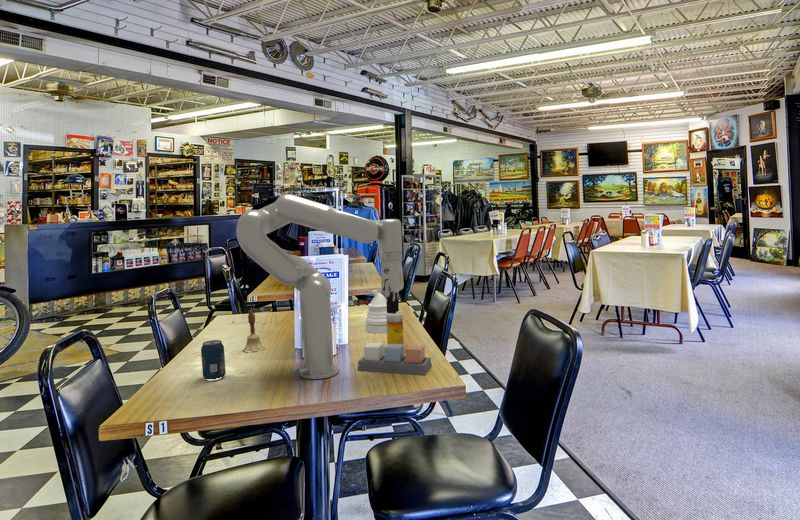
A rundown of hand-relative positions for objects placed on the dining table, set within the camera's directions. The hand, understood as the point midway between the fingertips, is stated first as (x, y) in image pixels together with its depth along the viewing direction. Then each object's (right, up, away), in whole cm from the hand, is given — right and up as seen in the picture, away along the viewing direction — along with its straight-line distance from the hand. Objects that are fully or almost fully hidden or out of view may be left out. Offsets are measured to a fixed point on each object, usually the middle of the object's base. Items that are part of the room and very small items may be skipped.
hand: (392, 311), depth 154 cm
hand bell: (-55, -19, +30) cm, 66 cm away
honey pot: (-6, -14, +55) cm, 57 cm away
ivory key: (-6, -16, +4) cm, 18 cm away
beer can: (+1, -17, +22) cm, 28 cm away
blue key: (+1, -16, +2) cm, 16 cm away
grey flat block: (+1, -19, +2) cm, 19 cm away
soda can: (-58, -22, -2) cm, 62 cm away
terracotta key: (+7, -16, -1) cm, 18 cm away
